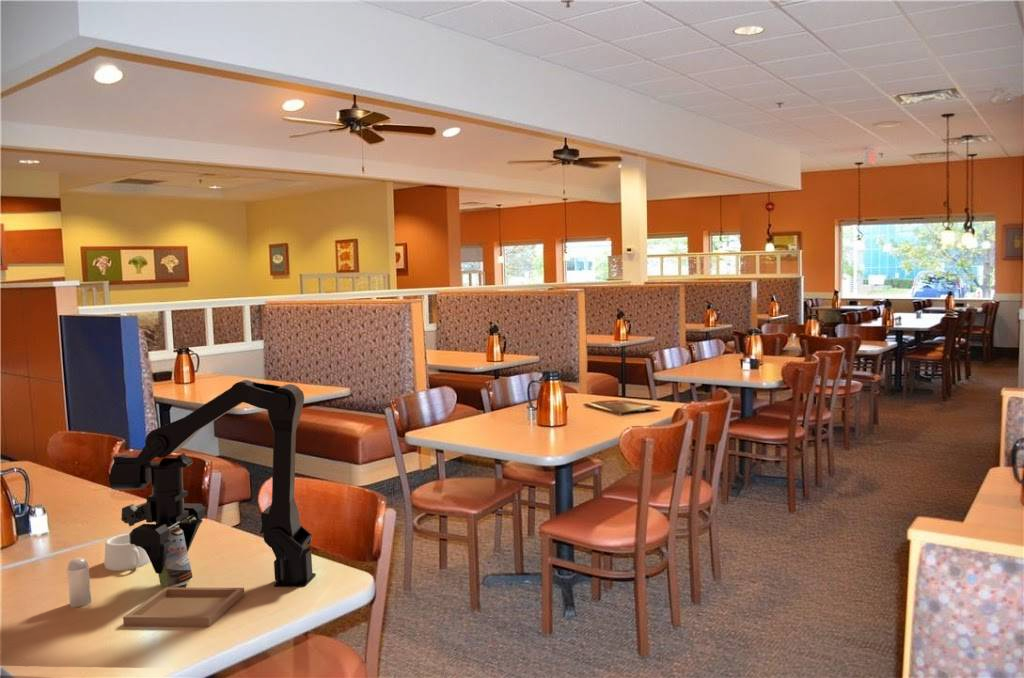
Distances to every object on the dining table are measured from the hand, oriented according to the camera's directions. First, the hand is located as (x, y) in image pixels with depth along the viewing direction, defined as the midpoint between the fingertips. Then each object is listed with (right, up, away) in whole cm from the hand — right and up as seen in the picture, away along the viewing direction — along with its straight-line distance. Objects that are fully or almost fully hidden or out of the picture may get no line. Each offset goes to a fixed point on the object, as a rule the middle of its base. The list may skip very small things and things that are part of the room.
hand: (171, 564), depth 162 cm
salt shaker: (-14, -5, -7) cm, 17 cm away
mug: (-14, -4, +13) cm, 20 cm away
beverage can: (+1, -4, 0) cm, 4 cm away
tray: (+8, -5, -13) cm, 16 cm away
